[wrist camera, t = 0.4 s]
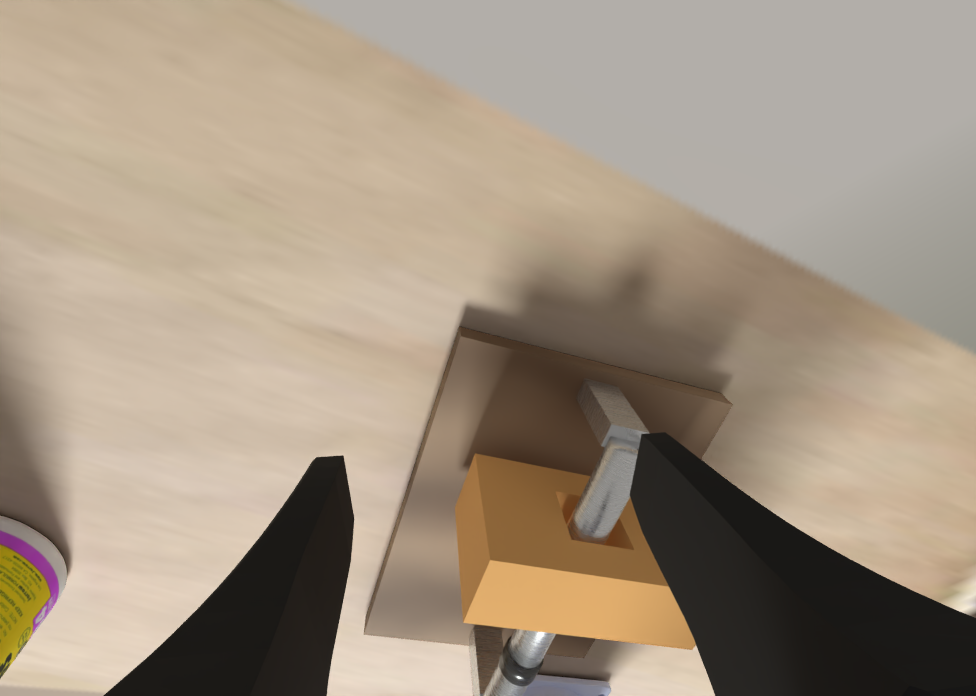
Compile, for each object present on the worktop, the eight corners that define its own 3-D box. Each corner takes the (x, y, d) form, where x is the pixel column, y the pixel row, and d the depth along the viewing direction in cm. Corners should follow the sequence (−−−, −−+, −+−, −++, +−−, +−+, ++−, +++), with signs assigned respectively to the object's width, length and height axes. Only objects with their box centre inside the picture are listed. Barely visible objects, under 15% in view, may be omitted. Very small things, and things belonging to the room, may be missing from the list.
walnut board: (579, 642, 31) (583, 658, 30) (365, 617, 28) (363, 634, 27) (721, 393, 24) (732, 404, 23) (459, 326, 21) (460, 336, 20)
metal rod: (497, 642, 28) (510, 740, 24) (466, 639, 28) (474, 738, 24) (619, 387, 22) (667, 456, 18) (582, 378, 22) (622, 446, 17)
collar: (637, 538, 24) (692, 650, 19) (454, 507, 22) (462, 622, 17) (664, 490, 23) (730, 595, 18) (474, 453, 21) (490, 560, 16)
